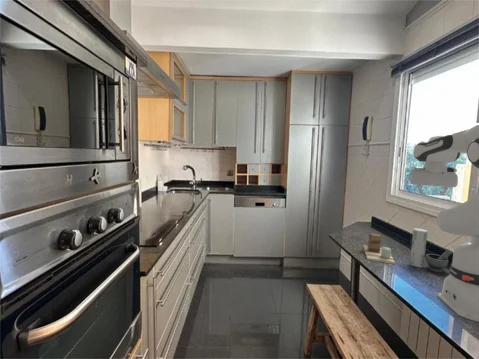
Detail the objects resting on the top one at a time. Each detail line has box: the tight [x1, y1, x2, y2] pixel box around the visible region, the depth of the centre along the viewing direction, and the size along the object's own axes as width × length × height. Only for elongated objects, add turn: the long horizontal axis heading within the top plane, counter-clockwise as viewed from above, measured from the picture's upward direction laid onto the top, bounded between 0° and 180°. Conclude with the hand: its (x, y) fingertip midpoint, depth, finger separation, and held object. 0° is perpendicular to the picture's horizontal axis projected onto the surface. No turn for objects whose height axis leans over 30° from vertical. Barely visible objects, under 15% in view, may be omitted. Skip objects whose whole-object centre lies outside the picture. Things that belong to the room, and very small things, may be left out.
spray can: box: [409, 227, 429, 268], centre depth 144 cm, size 6×6×20 cm
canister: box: [381, 246, 392, 259], centre depth 150 cm, size 5×5×6 cm
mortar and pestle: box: [425, 248, 453, 273], centre depth 139 cm, size 11×9×12 cm
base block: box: [367, 239, 381, 253], centre depth 161 cm, size 6×6×5 cm
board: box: [363, 245, 396, 265], centre depth 157 cm, size 22×14×1 cm, turn 159°
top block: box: [368, 232, 382, 245], centre depth 161 cm, size 5×5×5 cm
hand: (431, 194), depth 137 cm, fingers open, 8 cm apart
